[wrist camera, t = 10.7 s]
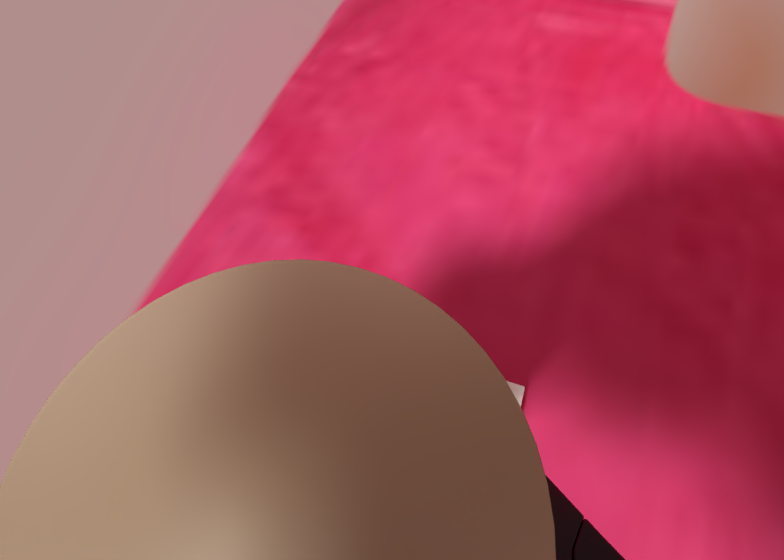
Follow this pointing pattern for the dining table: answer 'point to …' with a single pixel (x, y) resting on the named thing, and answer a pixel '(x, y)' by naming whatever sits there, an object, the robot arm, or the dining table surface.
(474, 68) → the dining table surface
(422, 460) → the birch peg
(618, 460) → the dining table surface
